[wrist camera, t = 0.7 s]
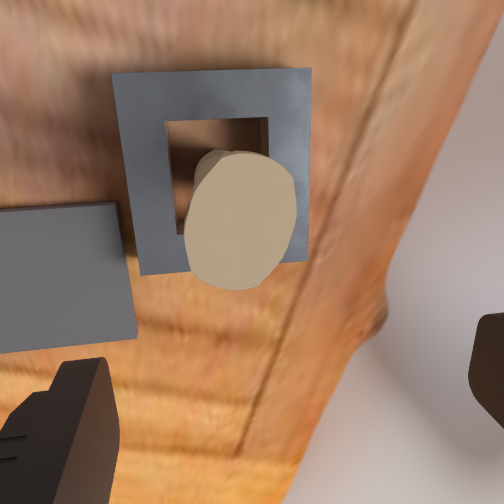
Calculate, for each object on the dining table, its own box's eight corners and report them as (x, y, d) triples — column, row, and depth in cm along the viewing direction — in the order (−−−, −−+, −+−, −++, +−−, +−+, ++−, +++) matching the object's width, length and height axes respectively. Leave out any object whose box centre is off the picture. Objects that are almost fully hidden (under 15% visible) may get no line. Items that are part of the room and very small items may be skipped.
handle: (178, 200, 32) (171, 278, 19) (197, 119, 30) (206, 139, 17) (235, 214, 34) (270, 298, 20) (258, 137, 32) (313, 171, 18)
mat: (-49, 212, 30) (-56, 216, 29) (117, 201, 32) (115, 204, 31) (-6, 347, 35) (-12, 354, 34) (138, 332, 36) (136, 338, 35)
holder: (119, 75, 29) (110, 73, 25) (298, 70, 30) (311, 67, 27) (145, 258, 34) (140, 275, 31) (296, 245, 35) (307, 260, 32)
